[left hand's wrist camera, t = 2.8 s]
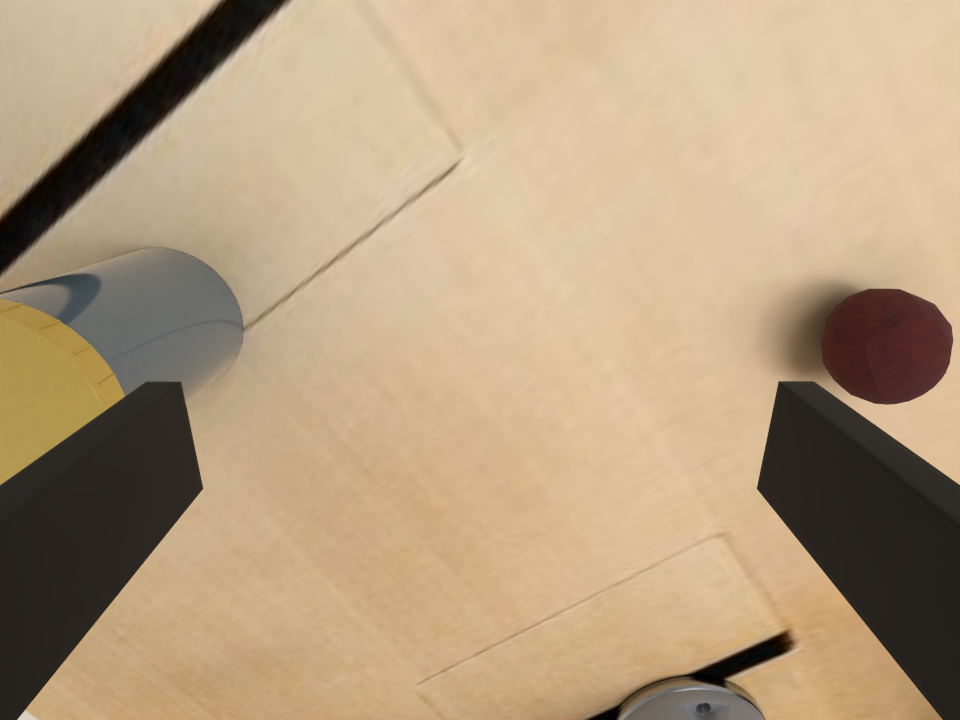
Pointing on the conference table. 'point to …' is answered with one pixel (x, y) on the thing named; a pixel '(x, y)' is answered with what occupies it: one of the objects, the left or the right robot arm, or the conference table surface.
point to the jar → (147, 316)
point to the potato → (887, 345)
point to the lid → (45, 385)
